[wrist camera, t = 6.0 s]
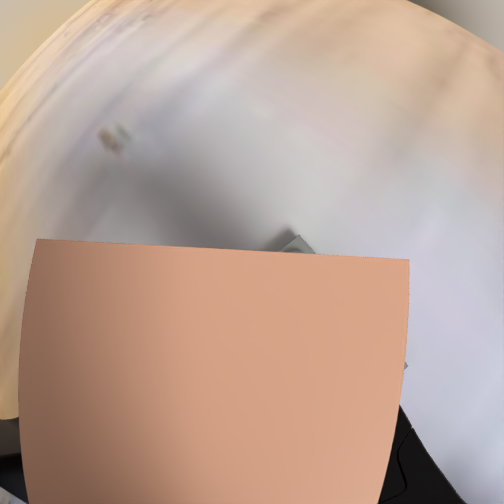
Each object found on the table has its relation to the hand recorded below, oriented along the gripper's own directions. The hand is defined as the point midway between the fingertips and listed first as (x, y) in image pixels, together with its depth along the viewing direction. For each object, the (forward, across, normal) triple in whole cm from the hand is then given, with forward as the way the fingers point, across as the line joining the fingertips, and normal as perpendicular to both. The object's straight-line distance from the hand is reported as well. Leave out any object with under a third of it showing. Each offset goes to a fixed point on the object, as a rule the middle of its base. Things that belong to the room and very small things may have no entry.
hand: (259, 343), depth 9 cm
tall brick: (+4, 0, +6) cm, 8 cm away
